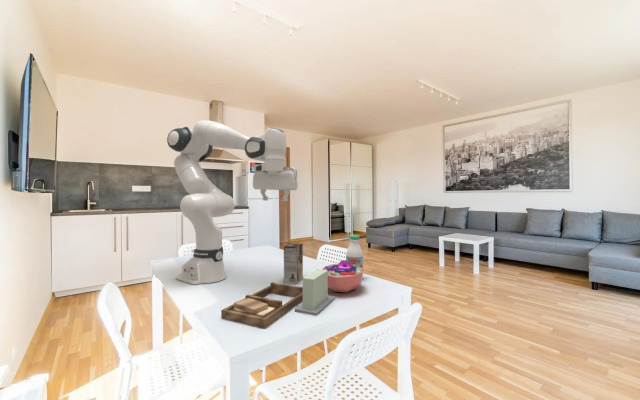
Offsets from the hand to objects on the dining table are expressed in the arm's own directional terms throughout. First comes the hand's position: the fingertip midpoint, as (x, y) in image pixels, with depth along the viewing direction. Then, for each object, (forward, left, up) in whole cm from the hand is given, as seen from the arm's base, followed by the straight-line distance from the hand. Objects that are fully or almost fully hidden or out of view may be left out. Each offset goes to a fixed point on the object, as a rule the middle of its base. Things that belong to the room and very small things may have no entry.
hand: (274, 200), depth 118 cm
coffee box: (+3, +11, -36) cm, 38 cm away
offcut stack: (+10, -27, -36) cm, 47 cm away
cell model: (+27, +9, -36) cm, 46 cm away
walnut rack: (+10, -19, -36) cm, 42 cm away
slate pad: (+24, -10, -36) cm, 44 cm away
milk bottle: (+27, +24, -36) cm, 51 cm away
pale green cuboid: (+24, -10, -35) cm, 44 cm away
